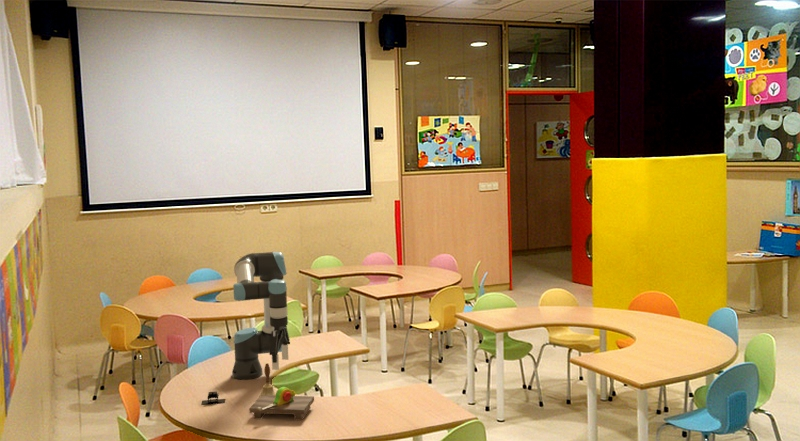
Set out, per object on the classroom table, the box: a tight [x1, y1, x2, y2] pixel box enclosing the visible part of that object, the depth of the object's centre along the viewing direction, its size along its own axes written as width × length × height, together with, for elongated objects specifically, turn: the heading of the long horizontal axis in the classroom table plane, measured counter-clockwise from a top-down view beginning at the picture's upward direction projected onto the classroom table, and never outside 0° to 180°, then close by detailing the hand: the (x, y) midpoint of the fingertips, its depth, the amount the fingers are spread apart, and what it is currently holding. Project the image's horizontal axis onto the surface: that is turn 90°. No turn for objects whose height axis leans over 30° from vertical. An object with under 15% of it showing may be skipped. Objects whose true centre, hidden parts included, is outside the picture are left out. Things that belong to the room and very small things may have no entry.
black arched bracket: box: [200, 390, 226, 406], centre depth 326 cm, size 13×8×5 cm, turn 101°
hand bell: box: [258, 363, 276, 398], centre depth 330 cm, size 8×8×16 cm
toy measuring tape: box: [257, 386, 296, 411], centre depth 307 cm, size 6×20×7 cm, turn 136°
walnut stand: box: [249, 394, 315, 421], centre depth 310 cm, size 16×24×5 cm, turn 82°
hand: (280, 364), depth 308 cm, fingers open, 13 cm apart
